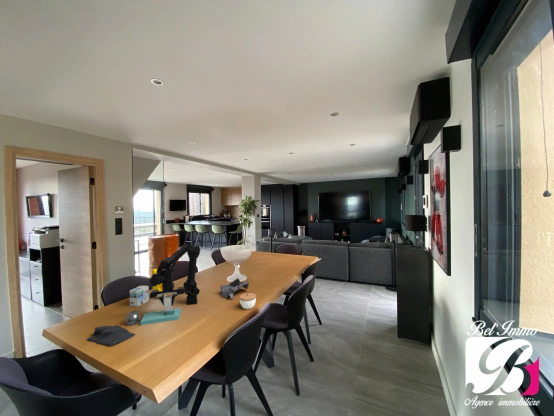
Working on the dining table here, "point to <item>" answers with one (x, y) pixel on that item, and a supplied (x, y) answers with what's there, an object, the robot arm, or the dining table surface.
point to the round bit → (132, 318)
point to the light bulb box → (139, 295)
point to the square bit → (168, 303)
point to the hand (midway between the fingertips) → (168, 306)
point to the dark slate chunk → (110, 335)
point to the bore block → (160, 316)
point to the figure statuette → (158, 287)
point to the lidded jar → (248, 300)
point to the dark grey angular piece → (233, 288)
